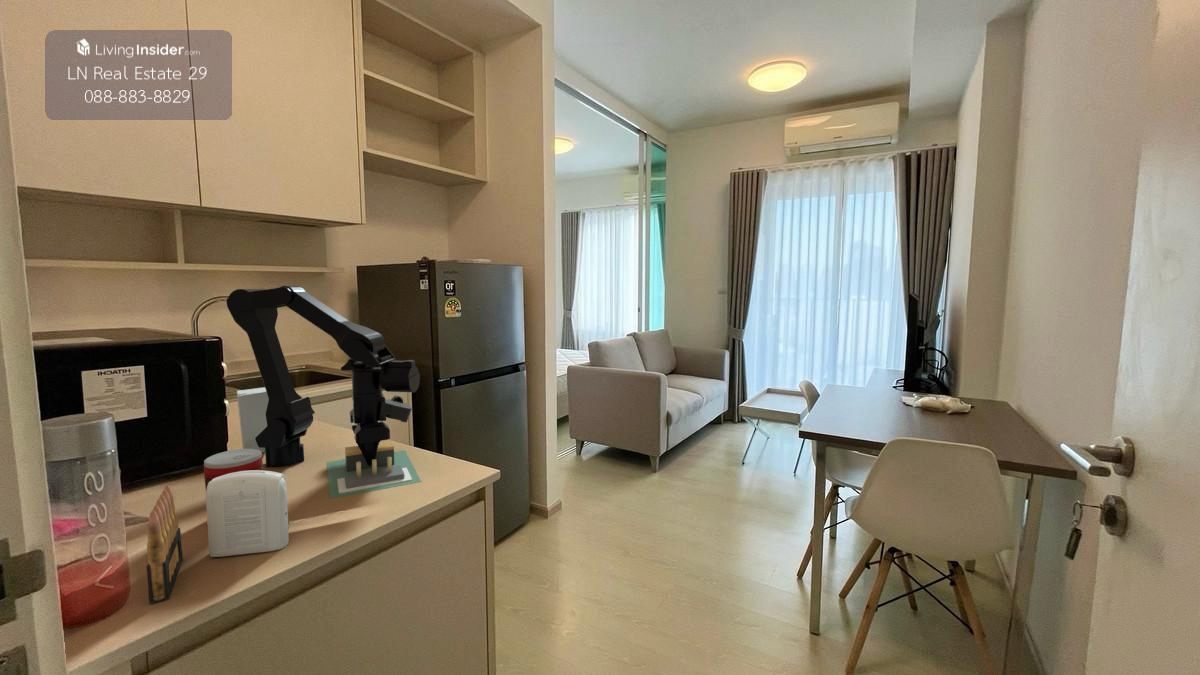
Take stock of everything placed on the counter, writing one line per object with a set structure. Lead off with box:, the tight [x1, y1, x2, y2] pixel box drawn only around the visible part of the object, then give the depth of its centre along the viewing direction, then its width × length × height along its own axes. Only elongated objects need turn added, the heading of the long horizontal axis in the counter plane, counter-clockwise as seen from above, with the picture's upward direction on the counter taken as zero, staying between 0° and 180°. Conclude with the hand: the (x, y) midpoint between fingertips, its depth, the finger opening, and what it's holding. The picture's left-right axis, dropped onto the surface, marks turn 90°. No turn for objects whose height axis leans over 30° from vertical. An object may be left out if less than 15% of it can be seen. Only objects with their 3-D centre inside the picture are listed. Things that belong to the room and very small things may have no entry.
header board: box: [326, 449, 422, 499], centre depth 101 cm, size 16×20×6 cm
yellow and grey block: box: [344, 440, 395, 472], centre depth 104 cm, size 9×4×4 cm, turn 121°
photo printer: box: [205, 470, 290, 558], centre depth 74 cm, size 10×4×12 cm, turn 107°
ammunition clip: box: [146, 484, 184, 605], centre depth 66 cm, size 11×2×12 cm, turn 33°
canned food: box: [203, 448, 264, 491], centre depth 83 cm, size 8×8×11 cm
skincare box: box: [236, 386, 269, 454], centre depth 115 cm, size 8×6×15 cm
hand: (370, 461), depth 104 cm, fingers closed on yellow and grey block, 4 cm apart
